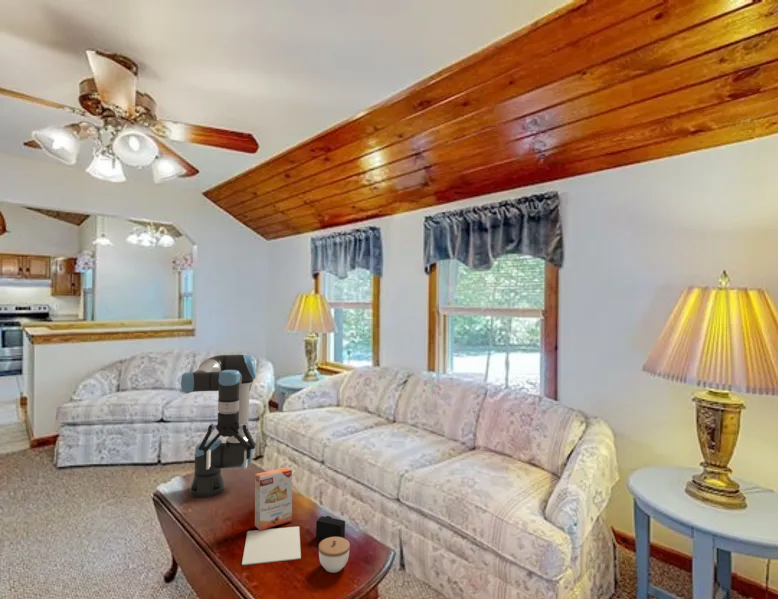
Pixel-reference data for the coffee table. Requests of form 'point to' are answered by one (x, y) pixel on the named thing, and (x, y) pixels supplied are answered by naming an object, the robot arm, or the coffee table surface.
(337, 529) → the digital camera
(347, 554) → the lidded jar
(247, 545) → the mat
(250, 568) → the coffee table surface
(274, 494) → the cracker box
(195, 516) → the coffee table surface
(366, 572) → the coffee table surface
